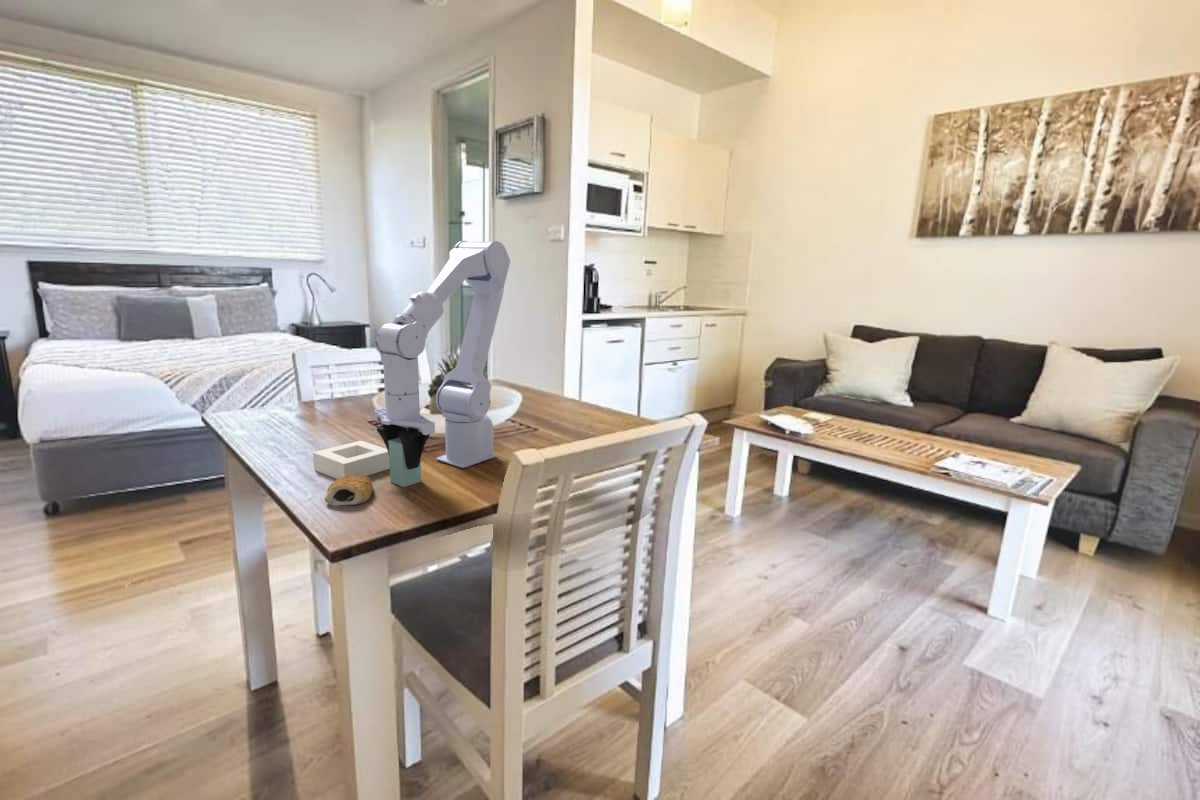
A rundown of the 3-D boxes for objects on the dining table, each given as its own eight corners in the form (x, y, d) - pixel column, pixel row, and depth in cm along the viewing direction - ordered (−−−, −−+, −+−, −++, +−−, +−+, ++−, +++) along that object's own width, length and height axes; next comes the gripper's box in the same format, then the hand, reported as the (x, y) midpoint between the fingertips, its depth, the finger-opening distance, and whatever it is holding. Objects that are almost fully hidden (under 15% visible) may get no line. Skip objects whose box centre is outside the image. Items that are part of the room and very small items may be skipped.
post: (407, 476, 106) (406, 435, 105) (421, 481, 104) (419, 439, 103) (390, 482, 103) (388, 440, 102) (403, 487, 101) (402, 444, 100)
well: (361, 456, 116) (360, 440, 115) (392, 467, 111) (391, 450, 110) (314, 470, 108) (312, 452, 107) (345, 482, 103) (343, 464, 102)
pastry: (341, 486, 101) (340, 466, 100) (381, 486, 102) (380, 466, 101) (322, 508, 92) (321, 485, 91) (366, 507, 93) (365, 486, 92)
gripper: (356, 389, 101) (361, 462, 104) (409, 402, 93) (412, 480, 96) (391, 383, 107) (394, 452, 110) (443, 395, 99) (445, 469, 102)
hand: (405, 465), depth 103 cm, fingers closed on post, 4 cm apart
